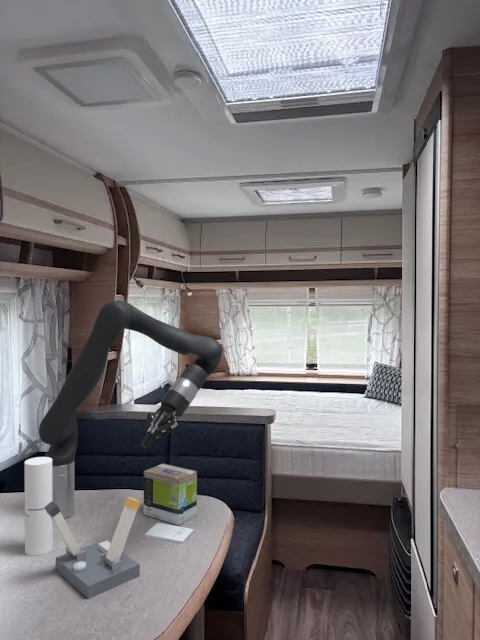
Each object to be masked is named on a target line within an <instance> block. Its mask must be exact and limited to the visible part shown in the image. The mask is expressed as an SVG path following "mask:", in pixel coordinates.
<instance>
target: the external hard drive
mask: <svg viewBox="0 0 480 640" xmlns="http://www.w3.org/2000/svg"><path fill="white" fill-rule="evenodd" d="M195 532H196V530H195V529H194V528H190V527H189V528H188V527H185V526H179V525H175V524H168V523H167V524H166V523H164V522H163V523H162V522H157V523H155V525H153V526H152V527H151V528H150V529H149V530H148V531H147V532H146V533H145V534H144V538H147V539H152V540H159V541H163V542H164V541H165V542H170V543H175V544H181V545H183V544H185V543H186V542H187V540H188V539H189V538H191V536H192V535H193V534H195Z"/></svg>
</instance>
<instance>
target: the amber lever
mask: <svg viewBox="0 0 480 640" xmlns="http://www.w3.org/2000/svg"><path fill="white" fill-rule="evenodd" d="M140 505H141V501H140V500H138V499H136V498H133V497H129V496H127V497H126V499H125V502H124V506H123V510H122V511H121V513H120V517H119V520H118V523H117V525H116V529H115V531H114V533H113V536H112V538H111V542H110V543H111V544H110V547H109V549H108V552H107V555H106V558H105V560H104V561H105V562H106V563H107V564H109V565H110V566H111V567H112V563H114V562H117V561H119V559H120V556H121V554H122V552H124V551H123V550H124V548H125V544H126V542H127V539H128V538H129V537H128V536H129V534H130V531H131V529H132V528H131V527H132V525H133V523H134V520H135V517H136V514H137V511H138V510H139V507H140Z"/></svg>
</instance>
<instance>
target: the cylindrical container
mask: <svg viewBox="0 0 480 640" xmlns="http://www.w3.org/2000/svg"><path fill="white" fill-rule="evenodd" d="M50 502H52V458H49V457H44V456H36V457H31V458H28V459H26V460H25V461H24V553H25V555H27V556H31V557H33V556H34V557H36V556H42V555H45V554H47V553H49V552H50V551H52V549H53V548H54V547H53V546H54V545H53V544H54V543H53V521H52V520H51V518H50V516H49V514H48V513H47V512H46V510H45V508H44V507H45V506H46V505H48V504H49V503H50Z"/></svg>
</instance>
